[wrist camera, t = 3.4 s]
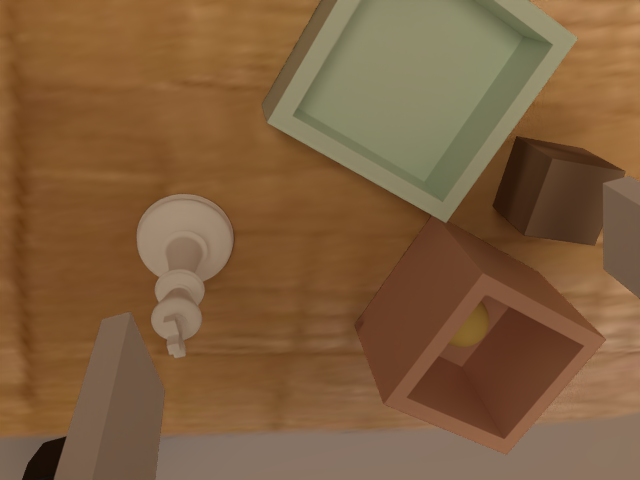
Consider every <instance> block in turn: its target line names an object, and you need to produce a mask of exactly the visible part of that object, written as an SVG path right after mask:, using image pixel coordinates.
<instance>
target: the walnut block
mask: <svg viewBox="0 0 640 480" xmlns="http://www.w3.org/2000/svg"><path fill="white" fill-rule="evenodd" d="M624 175H625V171H624V170H622V169H620V168H618V167H616V166H614V165H613V164H611V163H609V162H607V161H605V160H603V159H601V158H600V157H598V156H596V155H594V154H592V153H590V152H588V151H587V150H585V149H583V148H578V147H572V146H567V145H561V144H556V143H550V142H545V141H539V140H534V139H529V138H523V137H518V136H516V139H515V142H514V145H513V148H512V151H511V154H510V157H509V160H508V163H507V165H506V168H505V171H504V174H503V177H502V180H501V183H500V186H499V189H498V192H497V195H496V198H495V201H494V203H493V207H494V208H495V209H496V210H497V211H498V212H499V213H500V214H502V215H503V216H504V217H505V218H506V219H507V220H508V221H509V222H510V223H511V224H512V225H513V226H514V227H516V228H517V229H518V230H519V231H520V232H521V233H522V234H523V235H524V236H531V237H538V238H545V239H552V240H559V241H566V242H573V243H580V244H587V245H595V243H596V241H597V238H598V236H599V234H600V231H601V229H602V227H603V183H605V182H609V181H613V180H616V179H620V178H623V177H624Z"/></svg>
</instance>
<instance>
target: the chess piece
mask: <svg viewBox="0 0 640 480" xmlns="http://www.w3.org/2000/svg"><path fill="white" fill-rule="evenodd" d="M233 242H234V234H233V228H232V225H231V223H230V220H229V218H228V217H227V215H226V214H225V213H224V211H223V210H222V209H221V208H220V207H219V206H217V205H216V204H215V203H213V202H212V201H210V200H208V199H206V198H204V197H201V196H197V195H192V194H176V195H171V196H168V197H165V198H162V199H160V200H159V201H157V202H155V203H154V204H153V205H151V206H150V207H149V208H148V209H147V210H146V211H145V213H144V214H143V216H142V217H141V219H140V222H139V224H138V228H137V248H138V252H139V255H140V257H141V259H142V261H143V263H144V264H145V265H146V267H147V268H148V269H149V270H150V271H151V272H152V273H154V274H155V275H156V276H158V277H160V278H159V279H158V280H157V282H156V285H155V295H156V298H157V300H158V302H159V303H158V304H157V305H156V306H155V308H154V310H153V312H152V315H151V323H152V326H153V329H154V330H155V331H156V333H157V334H158V335H160V336H161V337H163V338H165V339H167V345H166V346H167V349H168V352H169V355H172V354H173V355H174V358H179V357H184V356H186V347H185V344H184V341H183V340H186V339H188V338H190V337H192V336H193V335H195V334H196V333H197V331H198V330H199V328H200V326H201V323H202V314H201V311H200V309H199V307H198V305H199V304H200V302H201V301H202V299H203V297H204V293H205V288H204V284H203V282H202V281H205V280H207V279H209V278H211V277H213V276H214V275H216V274H217V273H218V272H219V271H220V270H221V269H222V268H223V267H224V266H225V264H226V263H227V261H228V259H229V257H230V254H231V251H232V248H233Z"/></svg>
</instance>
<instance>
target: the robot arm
mask: <svg viewBox="0 0 640 480" xmlns="http://www.w3.org/2000/svg"><path fill="white" fill-rule="evenodd" d="M603 268H604V270H605V271H607V272H608V273H609V274H610V275H611V276H613V277H614V278H615V279H616V280H618V281H619V282H620V283H621V284H622V285H624V286H625V287H626V288H627V289H629V290H630V291H631V292H632V293H633V294H635V295H636V296H637V297H638V298H639V299H640V181H638V180H636V179H634V178H632V177H630V176H627V177H624V178H620V179H616V180H613V181H609V182H605V183H603ZM164 396H165V390H164V387H163V385H162V383H161V380H160V378H159V376H158V373H157V371H156V369H155V366H154V364H153V362H152V360H151V357H150V355H149V353H148V350H147V348H146V346H145V343H144V341H143V339H142V336H141V334H140V332H139V330H138V327H137V325H136V323H135V320H134V318H133V316H132V313H131V312H127V313H123V314H120V315H116V316H112V317H108V318H105V319H102V321H101V325H100V328H99V331H98V334H97V338H96V341H95V344H94V348H93V351H92V354H91V358H90V361H89V364H88V368H87V371H86V374H85V378H84V381H83V384H82V387H81V391H80V394H79V397H78V401H77V404H76V407H75V411H74V414H73V417H72V421H71V424H70V427H69V431H68V434H67V436H66V437H63V438H59V439H55V440H52V441H48V442H45V443H43V444H42V446H41V447H40V448H39V450H38V451H37V452H36V454H35V455H34V456H33V457H32V459H31V460H30V461H29V462H28V465H27V467H26V470H25V473H24V476H23V478H22V480H155V478H156V469H157V460H158V451H159V442H160V433H161V424H162V415H163V405H164Z"/></svg>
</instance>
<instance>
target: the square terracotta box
mask: <svg viewBox="0 0 640 480" xmlns="http://www.w3.org/2000/svg"><path fill="white" fill-rule="evenodd" d="M480 301H482V302H483V304H484V305H485V307H486V308H487V311H488V314H489V327H488V330H487V333H486V334H485V336H484V337H483V338H482V339H481V340H480V341H479V342H478V343H476V344H474V345H472V346H468V347H456V346H453V345H450V344H448V343H449V342H450V340H451V339H452V338H453V336H454V335H455V334H456V332H457V331H458V330H459V329H460V327H461V326H462V325H463V323H464V322H465V321H466V319H467V318H468V317H469V316H470V314H471V313H472V312H473V310H474V309H475V308H476V306H477V305H478V304H479V303H480ZM355 328H356V330H357V333H358V336H359V339H360V341H361V344H362V347H363V349H364V352H365V355H366V358H367V360H368V363H369V366H370V368H371V371H372V374H373V377H374V379H375V382H376V385H377V387H378V390H379V393H380V396H381V398H382V401H383V404H384V405H387V406H389V407H392V408H394V409H396V410H399V411H401V412H404V413H406V414H409V415H411V416H413V417H416V418H418V419H421V420H423V421H426V422H428V423H430V424H433V425H435V426H438V427H440V428H442V429H445V430H447V431H450V432H452V433H455V434H457V435H459V436H462V437H465V438H467V439H469V440H472V441H474V442H477V443H479V444H482V445H484V446H486V447H489V448H491V449H493V450H496V451H498V452H501V453H503V454H508V452H509V451H510V450H511V449H512V448H513V447H514V446H515V444H516V443H517V442H518V441H519V440H520V439H521V438H522V436H523V435H524V434H525V433H526V432H527V431H528V430H529V428H530V427H531V426H532V425H533V424H534V423H535V421H536V420H537V419H538V418H539V417H540V416H541V415H542V413H543V412H544V411H545V410H546V409H547V408H548V406H549V405H550V404H551V403H552V402H553V401H554V400H555V398H556V397H557V396H558V395H559V394H560V393H561V391H562V390H563V389H564V388H565V387H566V386H567V384H568V383H569V382H570V381H571V380H572V379H573V378H574V376H575V375H576V374H577V373H578V372H579V371H580V369H581V368H582V367H583V366H584V365H585V364H586V363H587V361H588V360H589V359H590V358H591V357H592V356H593V354H594V353H595V352H596V351H597V350H598V349H599V348H600V346H601V345H602V344H603V343H604V342H605V341H606V339H605V338H604V337H603V336H602V335H601V334H600V333H599V332H598V331H597V330H596V329H595V328H594V327H593V326H592V325H591V324H590V323H589V322H588V321H587V320H586V319H585V318H584V317H583V316H582V315H581V314H580V313H579V312H578V311H577V310H576V309H575V308H574V307H573V306H572V305H571V304H570V303H569V302H568V301H567V300H566V299H565V298H564V297H563V296H562V295H561V294H560V293H559V292H558V291H557V290H556V289H555V288H554V287H553V286H552V285H551V284H550V283H549V282H548V281H547V280H546V279H545V278H544V277H543V276H542V275H541V274H540V273H539V272H537V271H535V270H534V269H532V268H530V267H528V266H527V265H525V264H523V263H521V262H519V261H518V260H516V259H514V258H512V257H511V256H509V255H507V254H505V253H503V252H502V251H500V250H498V249H496V248H495V247H493V246H491V245H489V244H487V243H486V242H484V241H482V240H480V239H479V238H477V237H475V236H473V235H471V234H470V233H468V232H466V231H464V230H463V229H461V228H459V227H457V226H455V225H454V224H452V223H450V222H448V221H447V222H446V223H445V222H443V221H441V220H440V219H438V218H436V217H434V216H431V217H430V219H429V220H428V221H427V223H426V224H425V226H424V227H423V228H422V230H421V231H420V233H419V234H418V236H417V237H416V238H415V240H414V241H413V243H412V244H411V246H410V247H409V248H408V250H407V251H406V253H405V254H404V255H403V257H402V258H401V260H400V261H399V263H398V264H397V265H396V267H395V268H394V270H393V271H392V273H391V274H390V275H389V277H388V278H387V280H386V281H385V283H384V284H383V285H382V287H381V288H380V290H379V291H378V292H377V294H376V295H375V297H374V298H373V300H372V301H371V302H370V304H369V305H368V307H367V308H366V310H365V311H364V312H363V314H362V315H361V317H360V318H359V319H358V321H357V322H356V324H355Z"/></svg>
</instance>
